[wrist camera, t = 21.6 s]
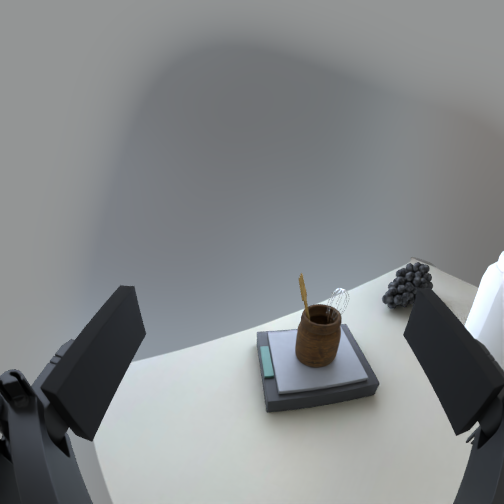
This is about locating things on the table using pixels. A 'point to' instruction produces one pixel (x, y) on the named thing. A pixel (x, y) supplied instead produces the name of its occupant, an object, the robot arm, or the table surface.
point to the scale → (311, 373)
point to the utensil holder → (318, 332)
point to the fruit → (407, 285)
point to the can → (490, 311)
